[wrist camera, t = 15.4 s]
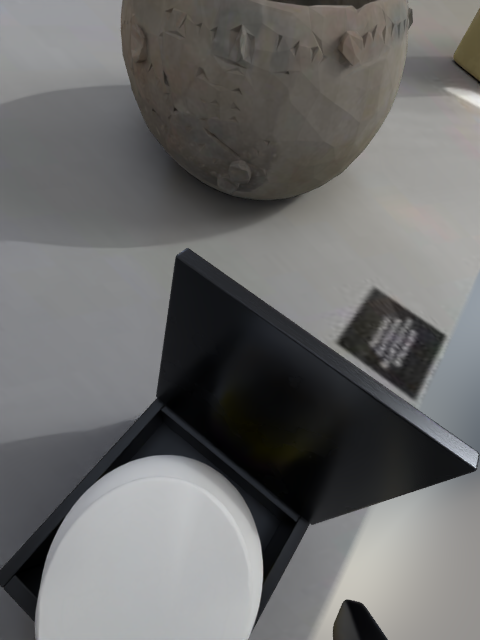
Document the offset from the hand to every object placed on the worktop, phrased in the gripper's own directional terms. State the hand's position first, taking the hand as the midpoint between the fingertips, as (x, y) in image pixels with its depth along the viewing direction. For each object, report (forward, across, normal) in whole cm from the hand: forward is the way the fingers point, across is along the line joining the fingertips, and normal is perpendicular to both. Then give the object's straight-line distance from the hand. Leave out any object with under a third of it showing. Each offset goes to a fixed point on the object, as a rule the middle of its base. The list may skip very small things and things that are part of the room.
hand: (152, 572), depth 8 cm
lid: (+6, -2, -1) cm, 7 cm away
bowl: (+34, +2, -16) cm, 38 cm away
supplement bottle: (+9, 0, +9) cm, 13 cm away
